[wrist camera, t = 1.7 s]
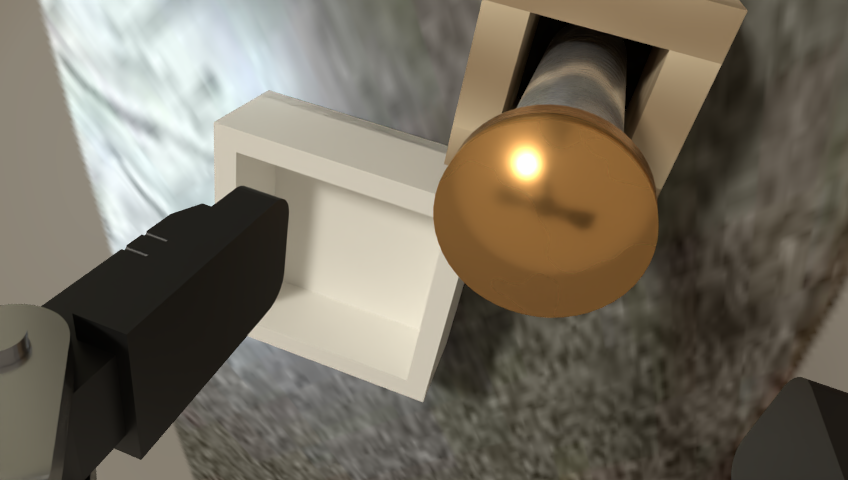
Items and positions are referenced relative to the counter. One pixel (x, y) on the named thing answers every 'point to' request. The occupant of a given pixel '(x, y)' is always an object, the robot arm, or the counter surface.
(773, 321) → the counter surface
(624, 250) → the pin
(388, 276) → the tray
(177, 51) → the counter surface
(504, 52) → the pin block
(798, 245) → the counter surface
